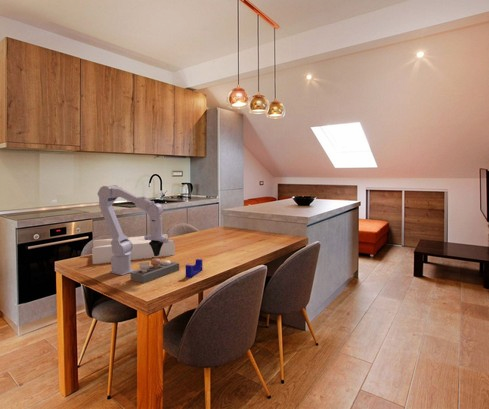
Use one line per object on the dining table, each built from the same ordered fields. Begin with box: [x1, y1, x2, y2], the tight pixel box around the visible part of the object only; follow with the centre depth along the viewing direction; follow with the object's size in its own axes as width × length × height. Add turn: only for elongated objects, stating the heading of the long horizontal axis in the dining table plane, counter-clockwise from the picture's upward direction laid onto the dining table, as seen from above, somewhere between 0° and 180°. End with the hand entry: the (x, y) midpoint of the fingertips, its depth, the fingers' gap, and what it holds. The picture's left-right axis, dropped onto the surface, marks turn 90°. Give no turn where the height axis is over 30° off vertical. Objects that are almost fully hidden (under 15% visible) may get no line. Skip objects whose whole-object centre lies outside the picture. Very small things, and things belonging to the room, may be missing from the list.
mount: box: [129, 261, 180, 284], centre depth 155 cm, size 9×23×4 cm, turn 148°
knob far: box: [161, 259, 172, 266], centre depth 161 cm, size 4×4×5 cm
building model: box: [91, 233, 176, 265], centre depth 192 cm, size 45×22×10 cm, turn 114°
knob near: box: [138, 261, 150, 274], centre depth 149 cm, size 4×4×5 cm
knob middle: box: [150, 257, 161, 270], centre depth 155 cm, size 4×4×5 cm
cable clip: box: [185, 258, 203, 279], centre depth 156 cm, size 12×4×6 cm, turn 161°
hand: (156, 255), depth 155 cm, fingers closed
